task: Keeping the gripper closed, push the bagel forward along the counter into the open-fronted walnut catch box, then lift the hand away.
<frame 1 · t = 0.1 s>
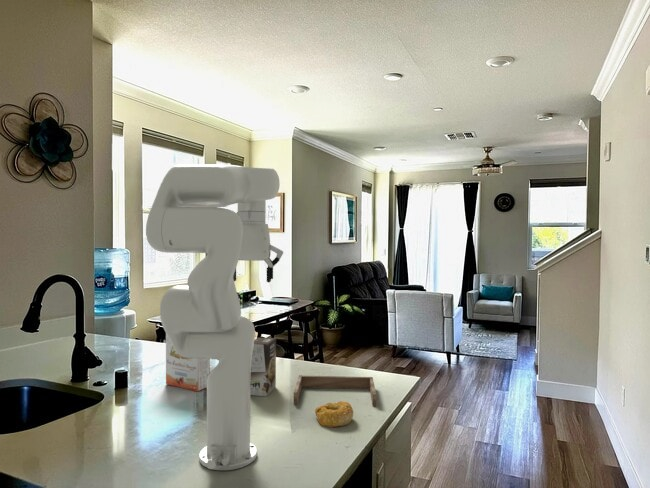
hand: (251, 281, 126), 37 cm above the worktop, tool pointing down, fingers open, 9 cm apart
cracker box: (187, 386, 150), on the worktop
bagel: (333, 421, 124), on the worktop
catch box: (335, 396, 142), on the worktop
coffee box: (262, 391, 146), on the worktop
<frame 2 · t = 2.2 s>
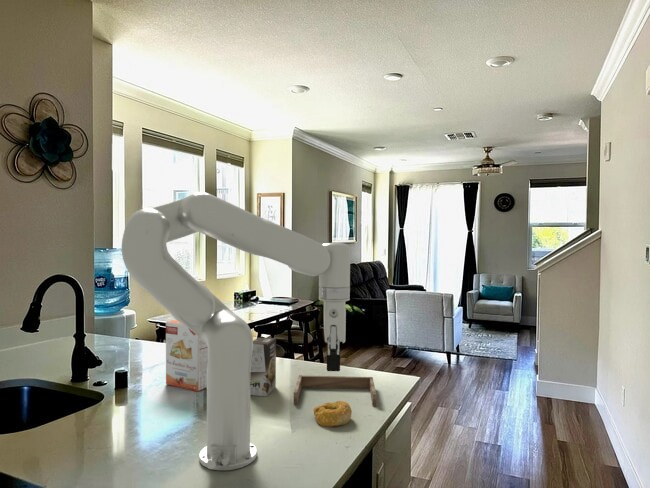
hand: (333, 368, 113), 17 cm above the worktop, tool pointing down, fingers closed
nothing on the worktop moved.
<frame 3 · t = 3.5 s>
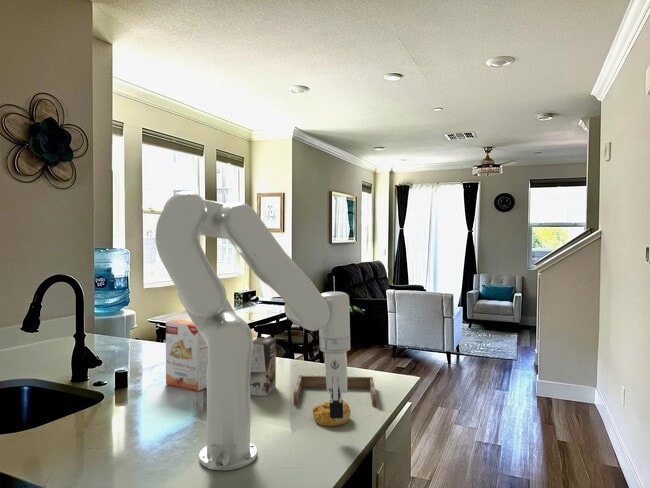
hand: (336, 416, 114), 5 cm above the worktop, tool pointing down, fingers closed
nothing on the worktop moved.
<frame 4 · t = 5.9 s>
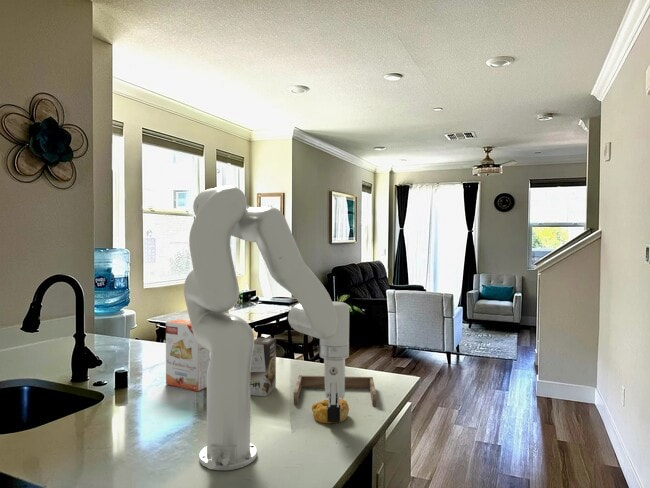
hand: (333, 420, 120), 2 cm above the worktop, tool pointing down, fingers closed
bagel: (329, 418, 126), on the worktop
everything else where it was.
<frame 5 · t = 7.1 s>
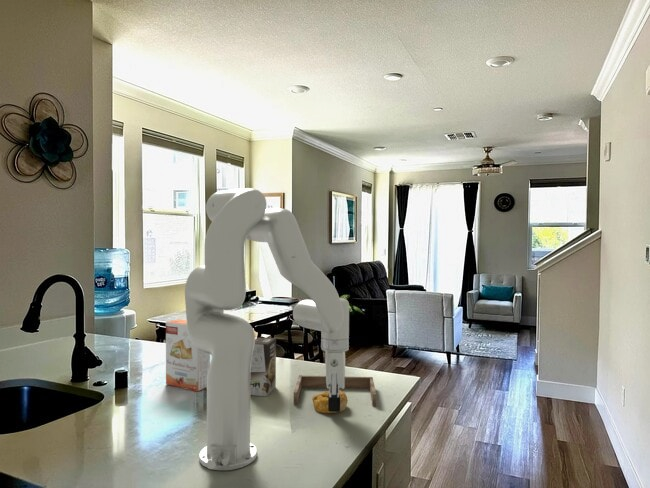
hand: (334, 410, 127), 2 cm above the worktop, tool pointing down, fingers closed
bagel: (329, 408, 133), on the worktop
everything else where it was.
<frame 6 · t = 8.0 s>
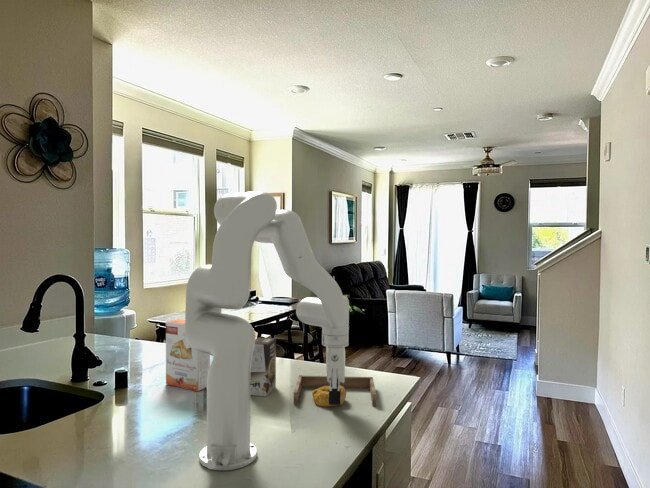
hand: (334, 403, 132), 2 cm above the worktop, tool pointing down, fingers closed
bagel: (328, 402, 138), on the worktop, touching gripper
everything else where it was.
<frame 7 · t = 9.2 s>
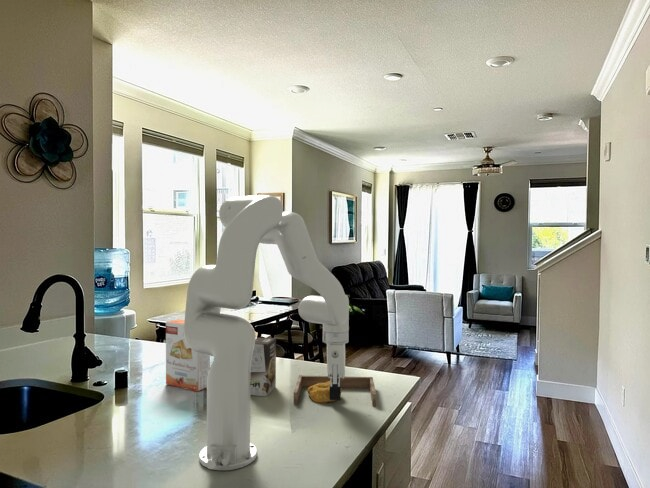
hand: (335, 398, 135), 2 cm above the worktop, tool pointing down, fingers closed
bagel: (324, 398, 141), on the worktop
everything else where it was.
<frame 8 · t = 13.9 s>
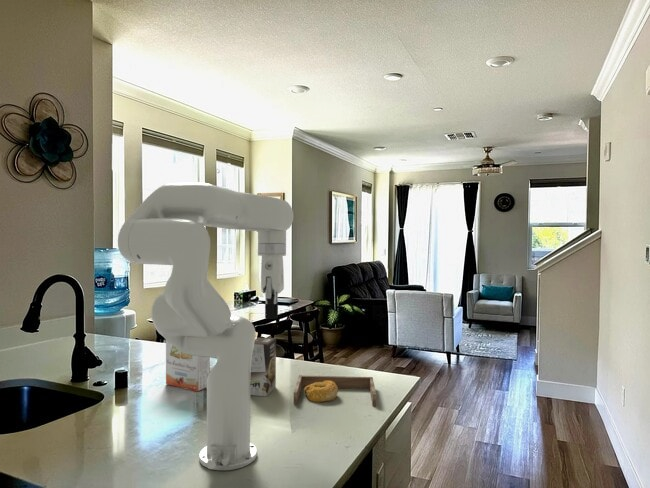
hand: (271, 318, 124), 27 cm above the worktop, tool pointing down, fingers closed
bagel: (320, 397, 142), on the worktop
everything else where it was.
at the end: bagel inside the target area on the catch box (4.5 cm from its centre), point 0.0 cm above the catch box's base; bagel moved 18.0 cm from its start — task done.
